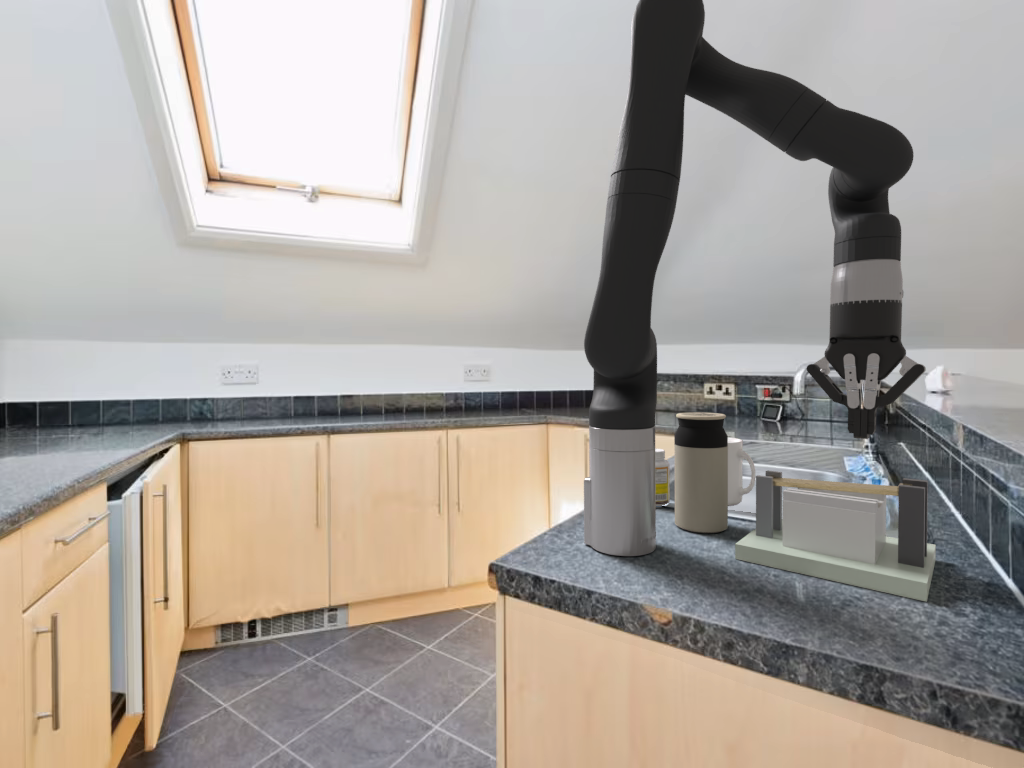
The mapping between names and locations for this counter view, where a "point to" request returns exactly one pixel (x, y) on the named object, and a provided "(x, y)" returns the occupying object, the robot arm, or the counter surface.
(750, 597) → the counter surface
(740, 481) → the mug
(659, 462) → the supplement bottle
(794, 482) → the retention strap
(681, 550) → the counter surface
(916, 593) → the board
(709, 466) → the travel mug
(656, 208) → the robot arm
